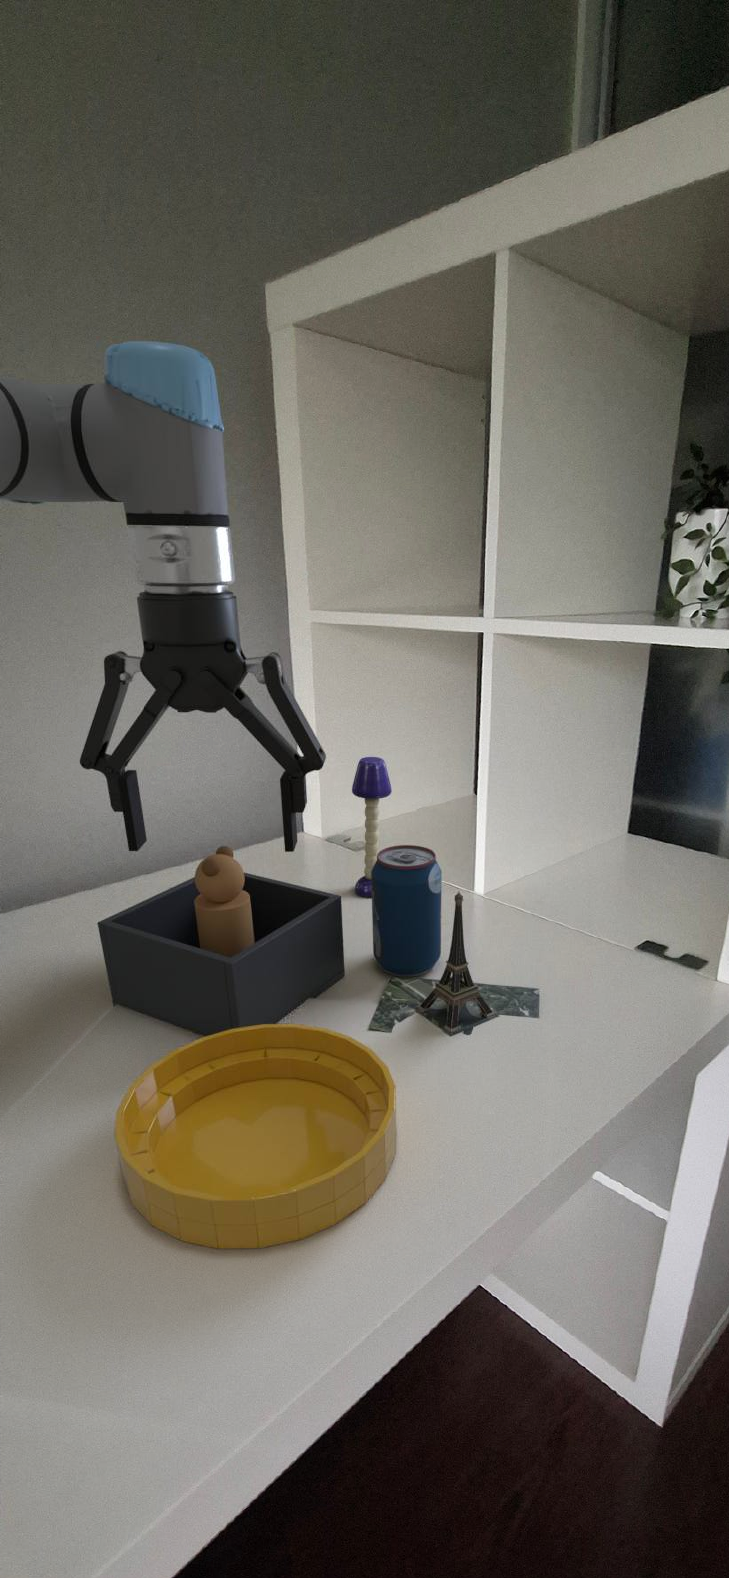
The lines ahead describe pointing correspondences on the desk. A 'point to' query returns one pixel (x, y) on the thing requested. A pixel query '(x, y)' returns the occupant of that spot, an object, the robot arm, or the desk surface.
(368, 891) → the toy lamp
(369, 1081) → the bowl
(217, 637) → the robot arm
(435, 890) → the soda can
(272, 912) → the bin
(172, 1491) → the desk surface
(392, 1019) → the eiffel tower figurine
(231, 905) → the toy bear
